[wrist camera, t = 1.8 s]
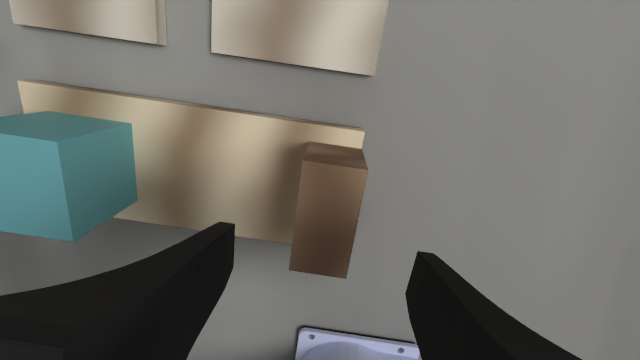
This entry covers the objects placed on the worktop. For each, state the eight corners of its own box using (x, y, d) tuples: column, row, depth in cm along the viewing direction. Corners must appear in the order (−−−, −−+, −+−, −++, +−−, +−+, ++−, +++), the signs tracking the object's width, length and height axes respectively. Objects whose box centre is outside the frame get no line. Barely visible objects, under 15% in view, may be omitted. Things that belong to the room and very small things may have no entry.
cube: (131, 123, 18) (56, 141, 13) (137, 200, 19) (73, 241, 15) (47, 110, 18) (-58, 124, 13) (61, 189, 19) (-28, 226, 15)
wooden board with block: (363, 128, 18) (372, 148, 13) (341, 243, 21) (342, 294, 16) (33, 79, 18) (-73, 82, 13) (55, 200, 21) (-27, 238, 16)
